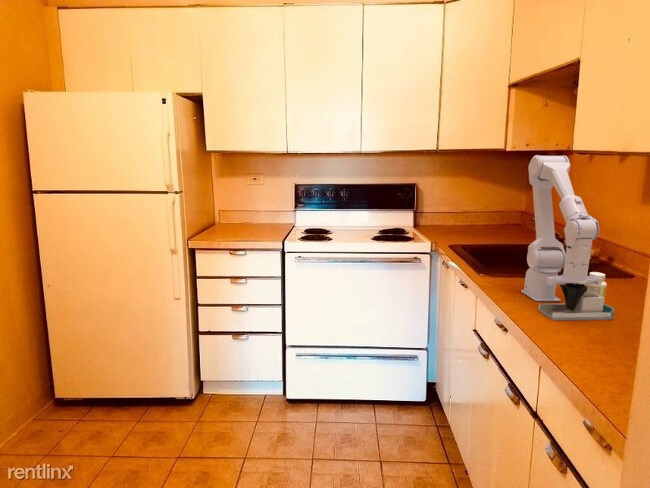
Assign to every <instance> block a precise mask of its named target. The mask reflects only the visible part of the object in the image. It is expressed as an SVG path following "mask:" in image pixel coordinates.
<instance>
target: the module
mask: <svg viewBox="0 0 650 488" xmlns="http://www.w3.org/2000/svg"><path fill="white" fill-rule="evenodd" d="M604 299H606V297H605V298H603V297H601V296H599V295H597V294H595V293H584V294H583V295H582V297H581V298H580V299H579V301H578V303H577V305H576V307H575V309H574V310H573V311H574V312H602V311H603V305H604V303H605V301H604Z"/></svg>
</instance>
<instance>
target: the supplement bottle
mask: <svg viewBox="0 0 650 488" xmlns="http://www.w3.org/2000/svg"><path fill="white" fill-rule="evenodd" d="M588 276H598V277H600V278H602V282H601V285H596V284H585V286H586V287H587V291H586V292H585V293H595V294H597V295H599V296H601V297H603V298H605V299H606V292H607V286H608V284H607V282H606V281H605V279H606V274H605V273H602V272H599V271H598V272H597V271H591V272H589V275H588ZM605 299H604V302H605Z"/></svg>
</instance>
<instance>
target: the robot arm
mask: <svg viewBox="0 0 650 488" xmlns="http://www.w3.org/2000/svg"><path fill="white" fill-rule="evenodd" d="M527 169H528V170H527V171H528V181H529V185H531V186H532V195H533V196H532V198H533V211H534V219H535V220H534V224H535V240H534V241H533V242H531V243H530V244H529V245H528V246H527V255H526V261H527V265H528V267H529V268H528V269H527V270H526V272H525V279H524V286H523V287H524V288H523V289H521V293H523V294H524V295H525V296H527V297H529V298H530V299H531V300H534V301H535V302H561V301H562V299H561V298H559V297H557V296H556V292H557V291H556V289H557V286H560V289H561V290H562V291H561V292H562V294H563V298H564V304H566V308H567V309H569V310H574V309H575V307H576V305H577V303H578V301H579V299H580V298H581V297H582V295H583V294H584V293H585V292H586V291H587V287H586V286H585V284H596V285H601V282H602V278H600V277H598V276H589V275H588V271H589V265H590V258H591V253H592V252H591V251H592V245H593V240H596V239H597V238H598V236H599V233H600V225H599V221H598V220H597V219H596V218H593V217H592V215H589V213H588V211H587V208H586V206H585V205H584V202H583V201H584V200H582V198H581V197H580V196H578V195H575V192H574V188H573V185H572V181H571V179H570V175H569V173H570V171H571V162H570V159H569V158H568V156H567V155H540V154H539V155H538V154H536V155H534V156H533V157H532V158H531V160H530V161H529V163H528V167H527ZM553 187H554V188H555V191H556V192H557V194H558V196H559V197H560V200H561V201H560V202H559V205H558V206H559V209H560V211H561V214H562V217H563V219H564V221H565V227H564V230H563V232H564V236H565V241H564V242H565V245H566V251H565V248H564V244H563V243H562V242H561V241H559V240H558V239H557V238H556V234H555V231H556V230H555V222H554V221H555V220H554V209H553V208H554V207H553V206H554V205H553V197H552V189H553ZM562 269H563V273H562V274H560V275H559V274H558V273H561V270H562Z"/></svg>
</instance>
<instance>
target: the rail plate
mask: <svg viewBox="0 0 650 488" xmlns="http://www.w3.org/2000/svg"><path fill="white" fill-rule="evenodd" d="M538 312H541V313H542V314H543V315H545V316H546V317H548V318H549V319H550V320H552V321H604V320H605V321H606V320H607V321H611V320H614V315H615V314H614V313H615V308H614V307H612V306H611V305H608V304H607V303H605V302H604V305H603V311H602V312H574V311H573V310H569V309H567V308H566V304H565V303H539V304H538Z"/></svg>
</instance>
